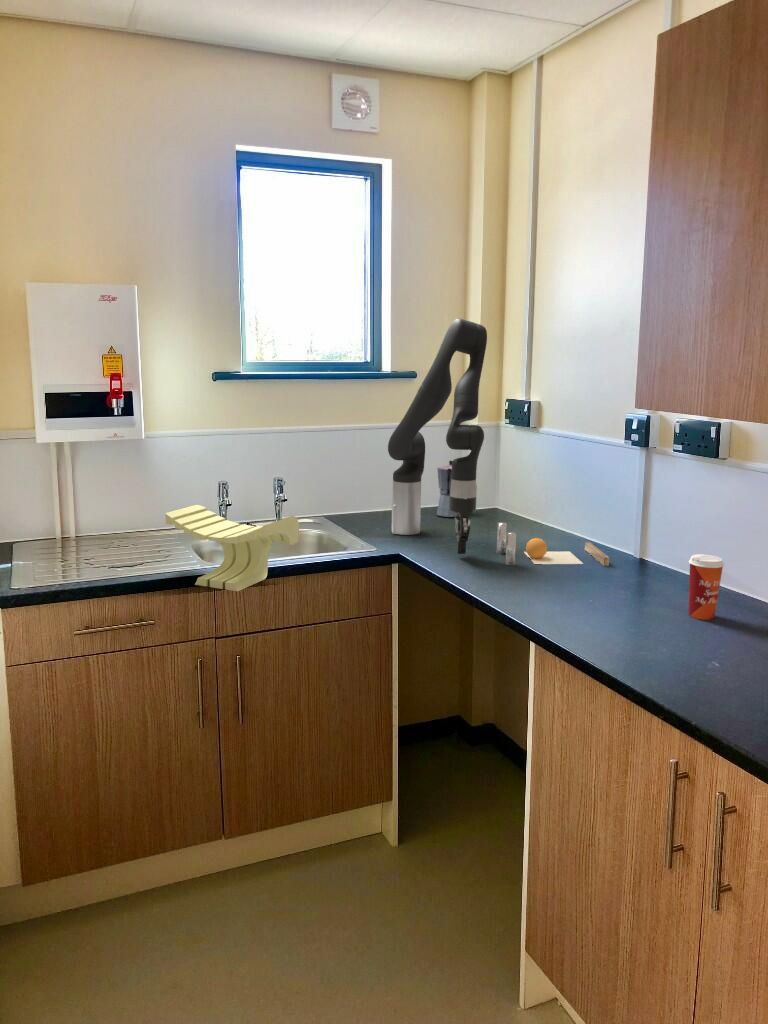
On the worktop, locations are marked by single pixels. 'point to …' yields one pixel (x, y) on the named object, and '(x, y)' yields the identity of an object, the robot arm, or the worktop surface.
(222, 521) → the slatted curved stool
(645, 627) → the worktop surface
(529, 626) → the worktop surface
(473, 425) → the robot arm
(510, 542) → the post
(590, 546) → the wooden stick
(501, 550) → the post
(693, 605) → the paper cup
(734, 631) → the worktop surface
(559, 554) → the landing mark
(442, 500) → the moka pot
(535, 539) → the ball
